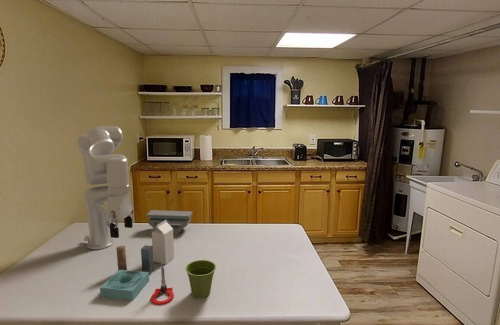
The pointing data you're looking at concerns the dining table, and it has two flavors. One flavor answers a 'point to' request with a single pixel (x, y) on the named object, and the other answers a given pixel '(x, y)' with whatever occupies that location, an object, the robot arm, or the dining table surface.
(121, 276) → the bore block
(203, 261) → the plant pot
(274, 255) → the dining table surface
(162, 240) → the milk carton
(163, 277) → the tow hook
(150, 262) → the steel square bar
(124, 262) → the walnut dowel
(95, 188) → the robot arm
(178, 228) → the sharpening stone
